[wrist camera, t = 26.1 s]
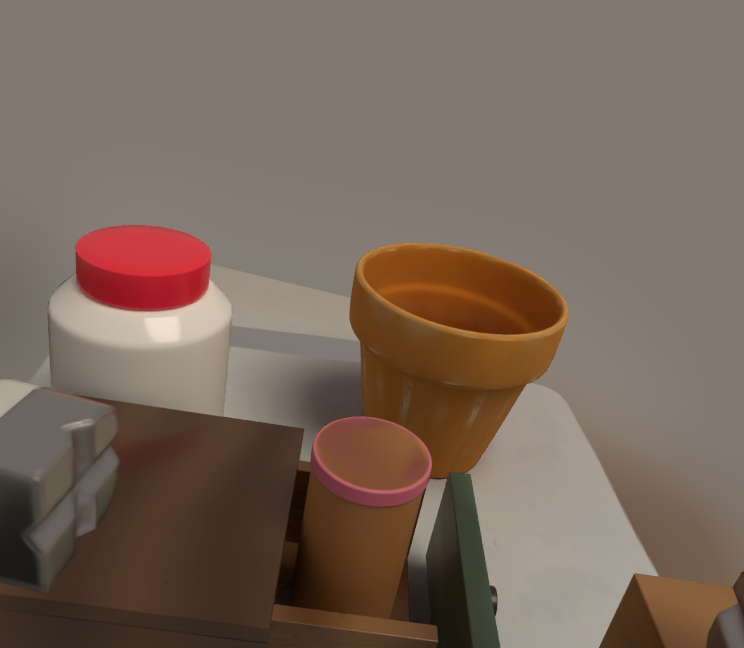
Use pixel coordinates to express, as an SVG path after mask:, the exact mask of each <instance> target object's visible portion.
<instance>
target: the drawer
mask: <svg viewBox="0 0 744 648" xmlns="http://www.w3.org/2000/svg"><path fill="white" fill-rule="evenodd" d="M310 472H311V462H306V461H299V463H298V469H297V475H296V480H295V486H294V492H293V498H292V504H291V509H290V515H289V521H288V527H287V532H286V538H285V544H284V550H283V555H282V561H281V567H280V573H279V579H278V584H277V590H276V596H275V602H274V607H273V613H272V619H271V625H270V631H269V638H268V644H267V648H500V643H499V638H498V632H497V626H496V620H495V615H496V611H497V591H496V588H495V587H494V586H490V585H489V579H488V574H487V568H486V562H485V556H484V550H483V545H482V539H481V533H480V527H479V521H478V515H477V510H476V504H475V498H474V492H473V486H472V480H471V475H470V474H464V473H457V472H449V475H448V478H447V482H446V486H445V489H444V493H443V496H442V500H441V503H440V507H439V510H438V514H437V518H436V521H435V525H434V528H433V532H432V535H431V539H430V542H429V546H428V550H427V553H426V566H427V580H428V594H429V608H430V622H431V625H429V624H421V623H413V622H410V610H409V585H408V560H407V558H408V555H409V551H410V547H411V543H412V540H413V536H414V532H415V528H416V524H417V521H418V517H419V513H420V509H421V506H422V502H423V498H424V494H425V491H426V488H425V489H424V491H423V494H422V498H421V502H420V505H419V509H418V513H417V517H416V521H415V524H414V528H413V532H412V536H411V540H410V543H409V547H408V551H407V555H406V559H405V562H404V566H403V570H402V574H401V578H400V581H399V585H398V589H397V593H396V597H395V600H394V604H393V608H392V612H391V615H390V619H383V618H376V617H368V616H361V615H353V614H346V613H338V612H330V611H323V610H315V609H308V608H300V607H293V606H289V599H290V593H291V587H292V581H293V575H294V569H295V563H296V557H297V551H298V545H299V539H300V533H301V526H302V520H303V514H304V508H305V502H306V496H307V490H308V484H309V478H310Z"/></svg>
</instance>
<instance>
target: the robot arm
mask: <svg viewBox="0 0 744 648" xmlns="http://www.w3.org/2000/svg"><path fill="white" fill-rule="evenodd" d="M119 434H120V416H119V411H118V410H117V409H116V408H115V407H114V406H112V405H108V404H105V403H101V402H97V401H94V400H90V399H86V398H83V397H79V396H76V395H72V394H68V393H65V392H61V391H57V390H54V389H50V388H46V387H43V388H42V387H40V386H37V385H34V384H30V383H26V382H22V381H18V380H14V379H11V378H8V379H1V380H0V583H3V584H7V585H11V586H15V587H19V588H23V589H28V590H32V591H36V592H40V593H44V594H46V593H47V591H48V590H49V589H50V587H51V586H52V585H53V584H54V582H55V581H56V580H57V578H58V577H59V576H60V574H61V573H62V572H63V571H64V569H65V568H66V567H67V565H68V564H69V563H70V562H71V560H72V559H73V558H74V556H75V555H76V537H78V536H81V535H83V534H85V533H87V532H90V531H92V530H94V529H96V527H97V526H98V525H99V523H100V522H101V520H102V519H103V518H104V516H105V515H106V514H107V512H108V510H109V507H110V505H111V503H112V500H113V498H114V496H115V494H116V491H117V486H118V481H119V476H120V459H119V458H118V456H117V455H116V453H115V452H114V450H113V449H112V447H111V446H110V444H111V443H112V442H113V441H114V440H115V438H116V437H117V436H118V435H119ZM733 590H734V593H735V596H736V599H737V602H738V604H736V605H734V606H731V607H729V608H727V609H725V610H723V611H721V612H719V613H718V614H717V616H716V618H715V620H714V622H713V624H712V626H711V628H710V630H709V632H708V637H707V643H706V648H744V571H743V572H742V573H741V574H740V576H739V578H738V580H737V581H736V583H735V585H734V586H733Z"/></svg>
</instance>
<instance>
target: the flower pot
mask: <svg viewBox="0 0 744 648" xmlns="http://www.w3.org/2000/svg"><path fill="white" fill-rule="evenodd" d="M568 317H569V311H568V307H567V304H566V302H565V300H564V299H563V297H562V296H561V295H560V293H559V292H558V291H557V290H556V289H555V288H554V287H552V286H551V285H550V284H549V283H548V282H546V281H545V280H543V279H542V278H540V277H539V276H537V275H536V274H534V273H532V272H530V271H528V270H527V269H525V268H523V267H520V266H518V265H516V264H514V263H511V262H509V261H506V260H503V259H501V258H498V257H495V256H492V255H488V254H485V253H481V252H478V251H474V250H470V249H465V248H460V247H455V246H448V245H440V244H430V243H429V244H428V243H403V244H402V243H401V244H392V245H387V246H383V247H380V248H376V249H374V250H371V251H369V252H368V253H366V254H365V255H363V256H362V257H361V258H360V260H359V261H358V263H357V265H356V270H355V275H354V281H353V287H352V295H351V302H350V323H351V326H352V329H353V331H354V333H355V335H356V336H357V338H358V339H359V340H360V346H361V378H362V398H363V417H373V418H379V419H383V420H387V421H390V422H393V423H395V424H398V425H400V426H402V427H404V428H406V429H407V430H409V431H411V432H412V433H413V434H415V435H416V436H417V437H418V438H419V439H420V440H421V441H422V442H423V443H424V444H425V446H426V447H427V449H428V451H429V453H430V455H431V460H432V469H431V473H430V478H447V477H448V475H449V472H457V473H465V472H467V471H469V470H470V469H472V468H473V467H474V466H475V464H476V463H477V462H478V460H479V459H480V458H481V456H482V455H483V453H484V452H485V450H486V448H487V447H488V445H489V444H490V442H491V441H492V439H493V437H494V436H495V434H496V433H497V431H498V430H499V428H500V426H501V425H502V423H503V421H504V420H505V418H506V417H507V415H508V413H509V412H510V410H511V408H512V407H513V405H514V403H515V402H516V400H517V398H518V397H519V395H520V394H521V392H522V390H523V389H524V387H525V386H526V384H529V383H531V382H533V381H534V380H536V379H538V378H540V377H541V376H542V375H543V374H544V373H545V372H546V371H547V369H548V368H549V366H550V364H551V362H552V360H553V358H554V355H555V353H556V351H557V348H558V345H559V343H560V340H561V337H562V335H563V332H564V329H565V326H566V323H567V320H568Z"/></svg>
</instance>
